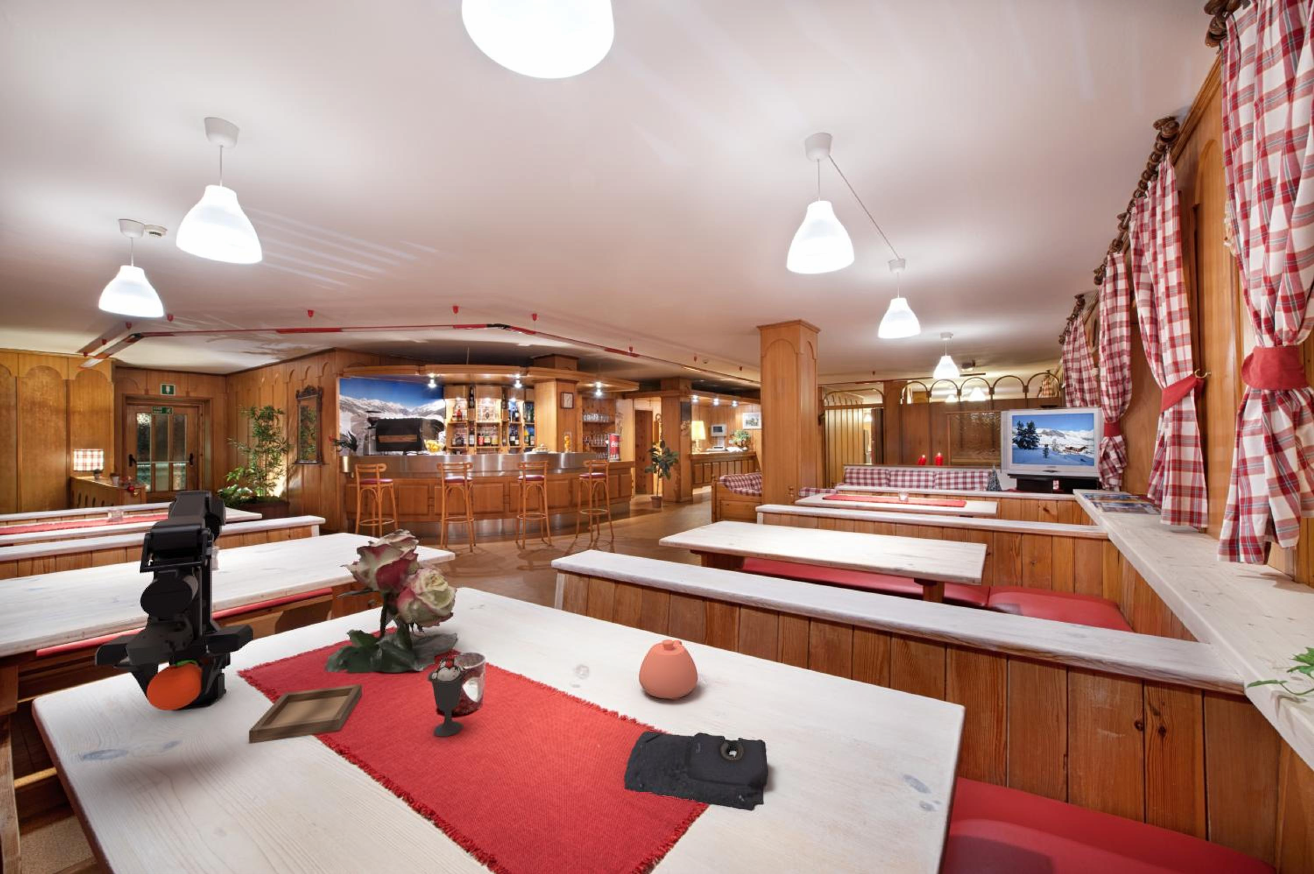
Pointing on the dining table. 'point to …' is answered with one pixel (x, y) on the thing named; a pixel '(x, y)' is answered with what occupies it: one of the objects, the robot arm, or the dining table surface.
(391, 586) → the rose bouquet
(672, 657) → the sugar bowl
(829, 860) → the dining table surface
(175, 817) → the dining table surface
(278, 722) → the walnut dish
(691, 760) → the black grommet pouch
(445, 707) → the sundae
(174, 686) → the clementine
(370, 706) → the dining table surface
